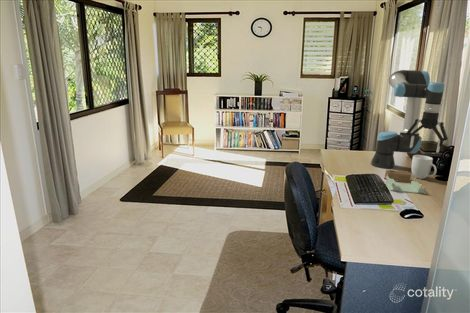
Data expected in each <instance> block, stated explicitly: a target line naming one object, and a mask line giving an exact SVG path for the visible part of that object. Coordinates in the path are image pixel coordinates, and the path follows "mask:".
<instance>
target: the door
mask: <svg viewBox="0 0 470 313" xmlns="http://www.w3.org/2000/svg"><path fill="white" fill-rule="evenodd" d="M386 176H388V177H389V178H390V179H394V180H398V181H397V182H403V181H405V183H411V179H412V178H411V177H412V173H410V172H409V171H407V170H406V171H405V170H396V169H385V174H384V178H385V179H386Z"/></svg>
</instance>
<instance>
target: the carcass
mask: <svg viewBox="0 0 470 313" xmlns="http://www.w3.org/2000/svg"><path fill="white" fill-rule="evenodd" d="M385 180H386V181H384V182H385V183H386V185H387V186H388V187H387V186H386V185H385V186H386V187H387V189H388V188H389V189H388V190H389V191H390V190H391V191H390V192H397V191H400V192H399V193H410V194H421V195H427V192H426V191H425V187H423V184H422V183H421V184H420V183H419V181H417V178H415V177H414V179H413V180H410V184H409V183H401V182H400V183H399V182H398V183H397V181H395V180H394V179H390V178H389V177H388V176H386V178H385ZM385 183H384V184H385Z"/></svg>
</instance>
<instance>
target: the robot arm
mask: <svg viewBox="0 0 470 313" xmlns="http://www.w3.org/2000/svg"><path fill="white" fill-rule="evenodd" d="M388 84H389V86H390V87H391V88H393V96H394V97H396V98H397V97H399V98H407V99H406V107H405V112H404V120H403V127H402V130H401V131H400V133H399V134H398V133H397V131H381V132H379V133H378V135H377V138H376V146H375V152H374V155H373V157H372V159H371V162H370V164H371V165H372V166H374V167H377V168H382V169H393V168H395V165H396V162H395V156H394V155H395V154H394V153H406V154H416V153H418V152H419V150H420V148H421V145H422V139H423V138H422V136H421V135H420V133H419V132H420V130H422V129H428V130H433V131H434V133H435V135H436V136H437V138H438V139H439V140H438V141H437V147H436V152H435V153H437V154H439V153H440V149H441V147H443V145H444V142H445V141H448V138H449V137H448V135H447V132H446V129H445V122H444V121H441V122H439V121H438V120H439V116H440V113H439V112H440V111H441V110H440V109H441V106H442V101H443V95H444V92H445V83H444V82H438V81H437V82H435V81H434V82H433V81H431V77H430V73H429V72H428V71H426V70H409V69H401V70H397V71H394V72H393V73H391V75H390V76H389V78H388ZM423 99H425V101H424V107H423V112H422V116H421V119H419V118H420V113H421V105H422V100H423ZM419 123H420V124H421V125H420V126H419ZM437 126H439V127H440V128H439V129H440V131H441V132H440V131H439V129H438V127H437Z"/></svg>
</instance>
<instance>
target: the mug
mask: <svg viewBox="0 0 470 313" xmlns="http://www.w3.org/2000/svg"><path fill="white" fill-rule="evenodd" d="M411 160H412V161H411V176H413V177H414V178H416V179H419V180H420V179H421V180H423V179H426V178H427V177H429V178H430V177H434V176H436V174H437V172H438V171H437V166H436V165H435V164H433V160H434V158H433V157H432V156H427V155H422V154H414V155H412V159H411ZM432 167H433V169H434V170H433V174H431V175H430V173H431V169H432Z"/></svg>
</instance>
